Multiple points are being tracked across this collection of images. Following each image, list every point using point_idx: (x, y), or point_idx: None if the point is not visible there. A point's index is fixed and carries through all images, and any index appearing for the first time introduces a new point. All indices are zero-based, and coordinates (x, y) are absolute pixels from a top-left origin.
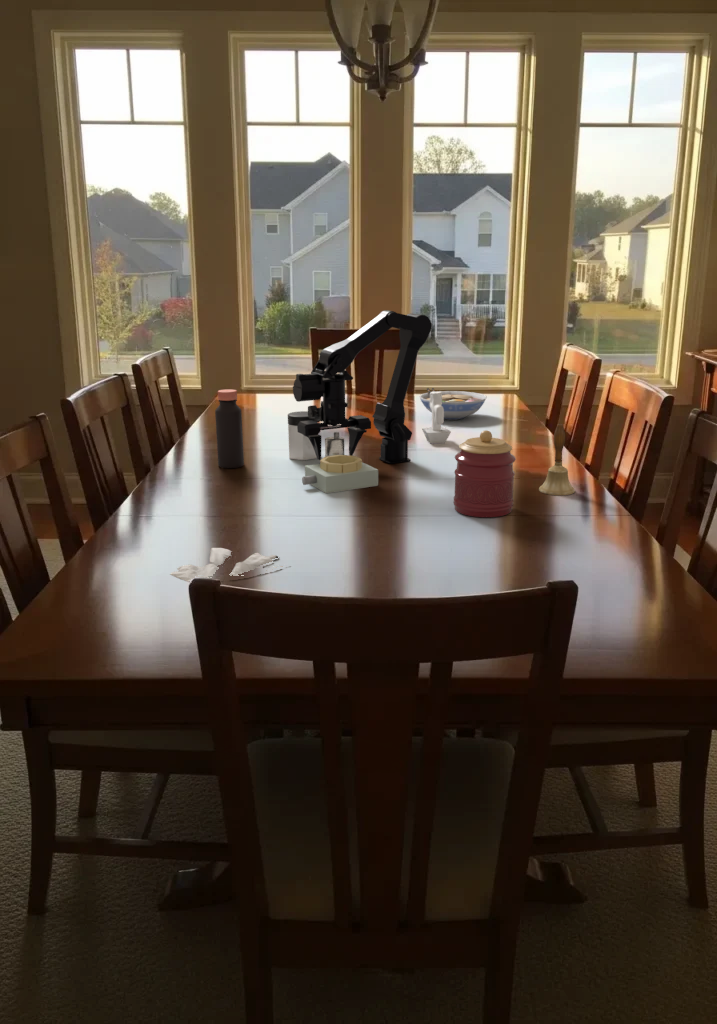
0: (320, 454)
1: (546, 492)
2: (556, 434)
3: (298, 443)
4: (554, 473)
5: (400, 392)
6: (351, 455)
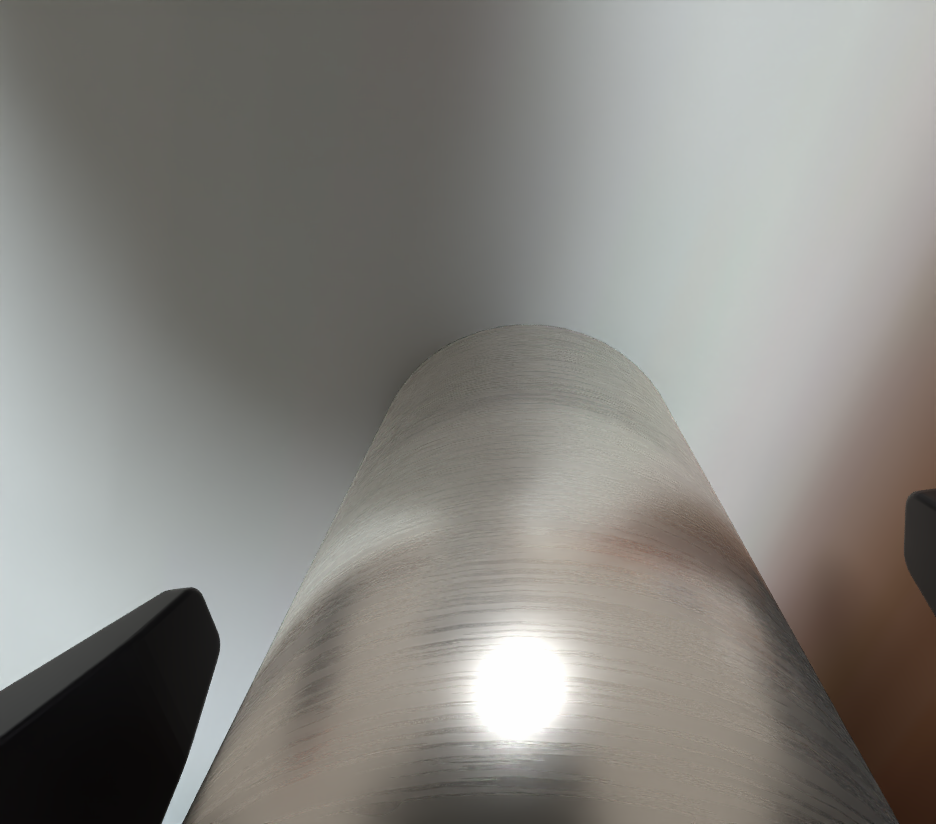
0: (164, 777)
1: None
2: None
3: None
4: None
5: None
6: (918, 579)
